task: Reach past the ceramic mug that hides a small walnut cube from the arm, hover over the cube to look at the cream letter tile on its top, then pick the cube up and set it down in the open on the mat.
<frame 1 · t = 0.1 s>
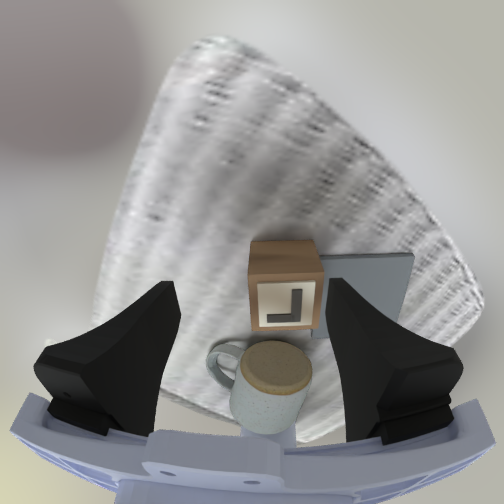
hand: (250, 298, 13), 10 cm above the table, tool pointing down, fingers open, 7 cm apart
ceramic mug: (257, 359, 29), on the table
letter cube: (282, 267, 23), on the table
slate mat: (361, 297, 24), on the table
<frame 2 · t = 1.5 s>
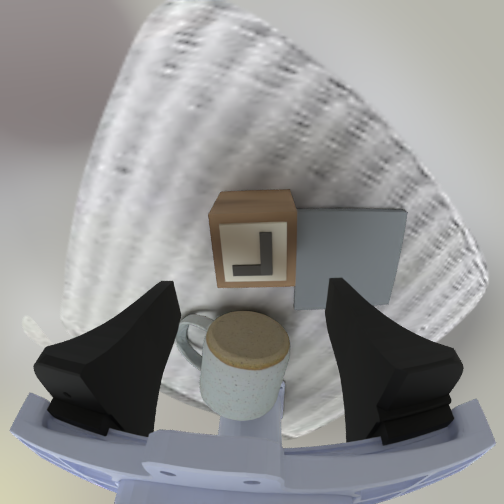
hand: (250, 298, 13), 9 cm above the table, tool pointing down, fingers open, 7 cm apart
ceramic mug: (232, 335, 27), on the table
letter cube: (256, 221, 21), on the table
slate mat: (348, 260, 22), on the table
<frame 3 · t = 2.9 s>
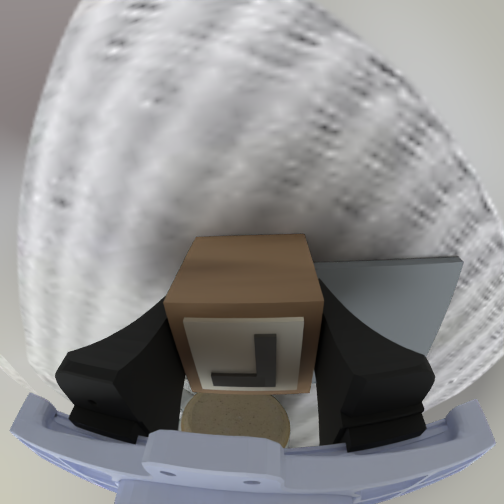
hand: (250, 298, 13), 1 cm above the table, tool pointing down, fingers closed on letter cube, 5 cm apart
ceramic mug: (218, 401, 20), on the table
letter cube: (252, 281, 14), on the table, touching gripper
slate mat: (379, 325, 15), on the table
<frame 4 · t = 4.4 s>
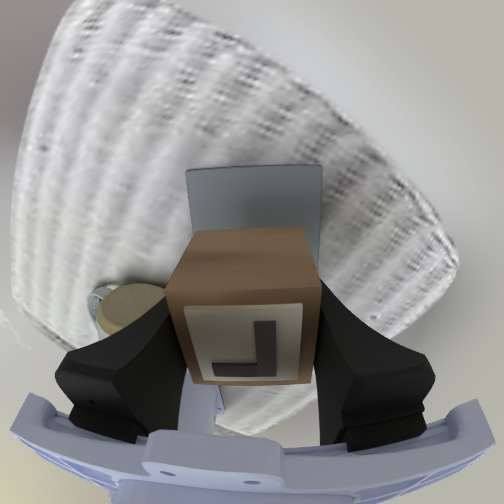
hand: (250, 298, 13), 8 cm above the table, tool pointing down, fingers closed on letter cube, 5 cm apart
ceramic mug: (143, 312, 25), on the table
letter cube: (251, 274, 14), point 7 cm above the table, touching gripper
slate mat: (256, 227, 20), on the table
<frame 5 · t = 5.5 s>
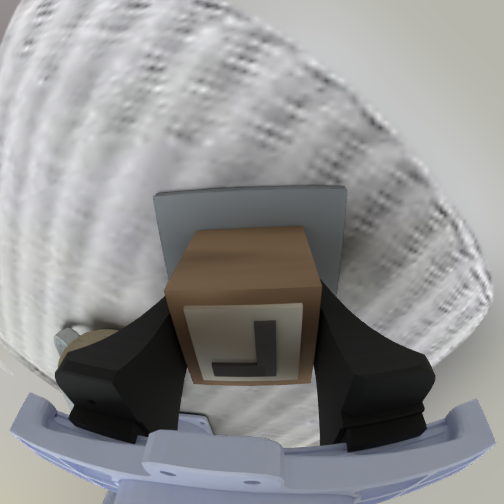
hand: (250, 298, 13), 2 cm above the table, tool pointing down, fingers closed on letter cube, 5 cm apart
ceramic mug: (117, 356, 19), on the table
letter cube: (251, 274, 14), point 1 cm above the table, touching gripper
slate mat: (252, 270, 15), on the table
when the fingers open (2 cm above the table, at t = 6.0 s): letter cube stays where it is, resting on slate mat.
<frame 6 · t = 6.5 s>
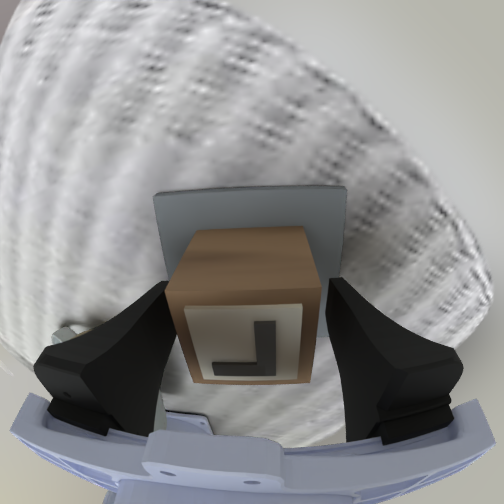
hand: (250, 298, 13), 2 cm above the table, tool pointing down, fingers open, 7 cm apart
ceramic mug: (114, 355, 19), on the table
letter cube: (252, 273, 14), point 1 cm above the table, touching slate mat
slate mat: (252, 271, 15), on the table
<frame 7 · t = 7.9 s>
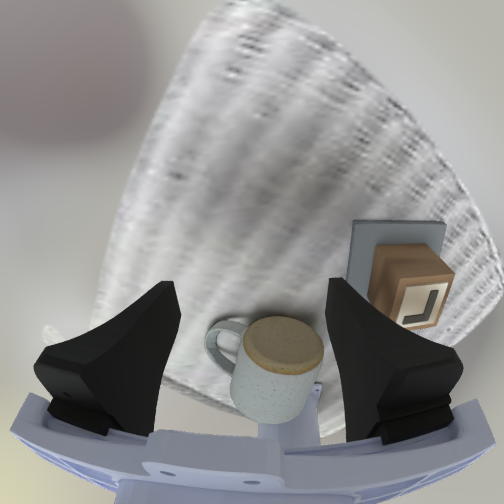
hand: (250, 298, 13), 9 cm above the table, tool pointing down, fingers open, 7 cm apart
ceramic mug: (261, 340, 27), on the table
letter cube: (396, 270, 22), point 1 cm above the table, touching slate mat
slate mat: (393, 268, 22), on the table
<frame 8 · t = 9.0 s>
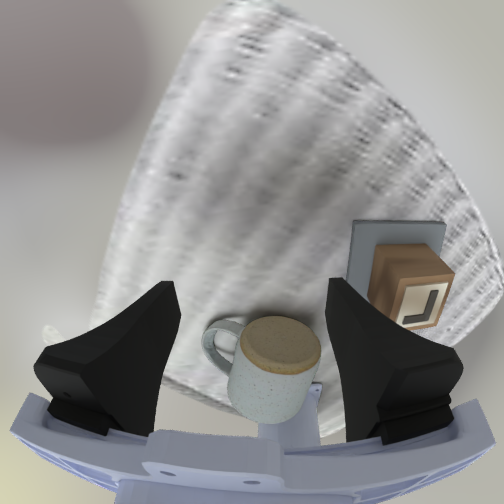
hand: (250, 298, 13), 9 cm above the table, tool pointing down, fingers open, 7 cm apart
ceramic mug: (258, 339, 27), on the table
letter cube: (396, 270, 22), point 1 cm above the table, touching slate mat
slate mat: (393, 268, 22), on the table
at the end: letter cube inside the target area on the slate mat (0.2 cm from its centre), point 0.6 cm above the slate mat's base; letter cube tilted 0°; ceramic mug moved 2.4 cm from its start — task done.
